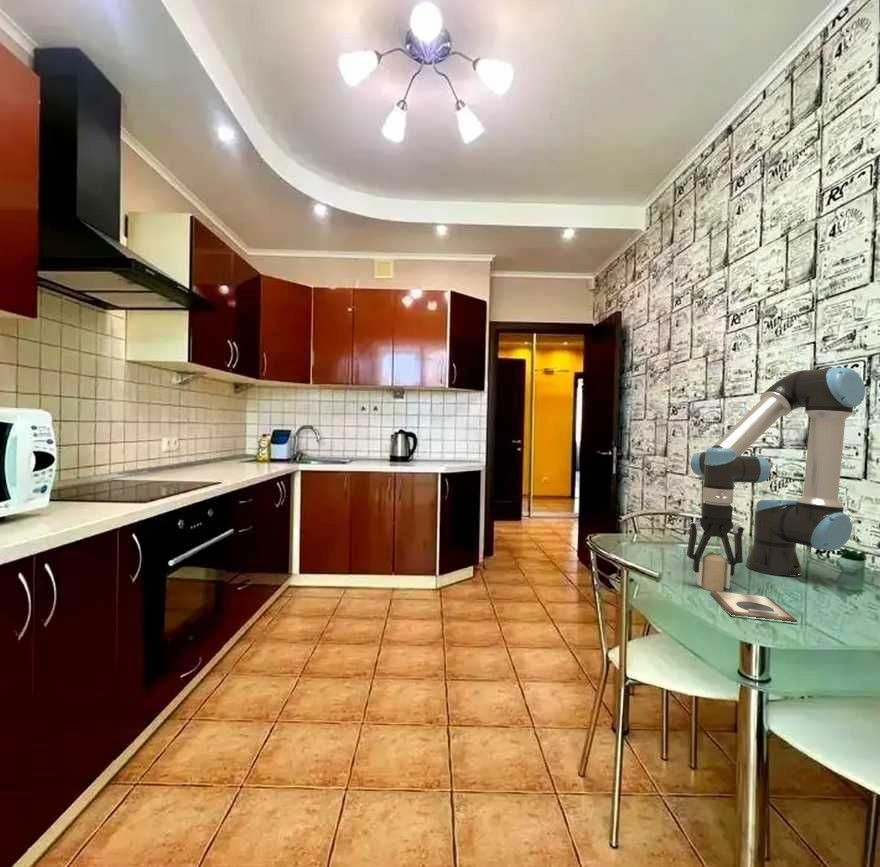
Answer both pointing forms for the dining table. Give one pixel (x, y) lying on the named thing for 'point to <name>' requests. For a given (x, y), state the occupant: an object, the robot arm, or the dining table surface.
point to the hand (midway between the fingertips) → (712, 585)
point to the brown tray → (751, 606)
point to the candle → (713, 572)
